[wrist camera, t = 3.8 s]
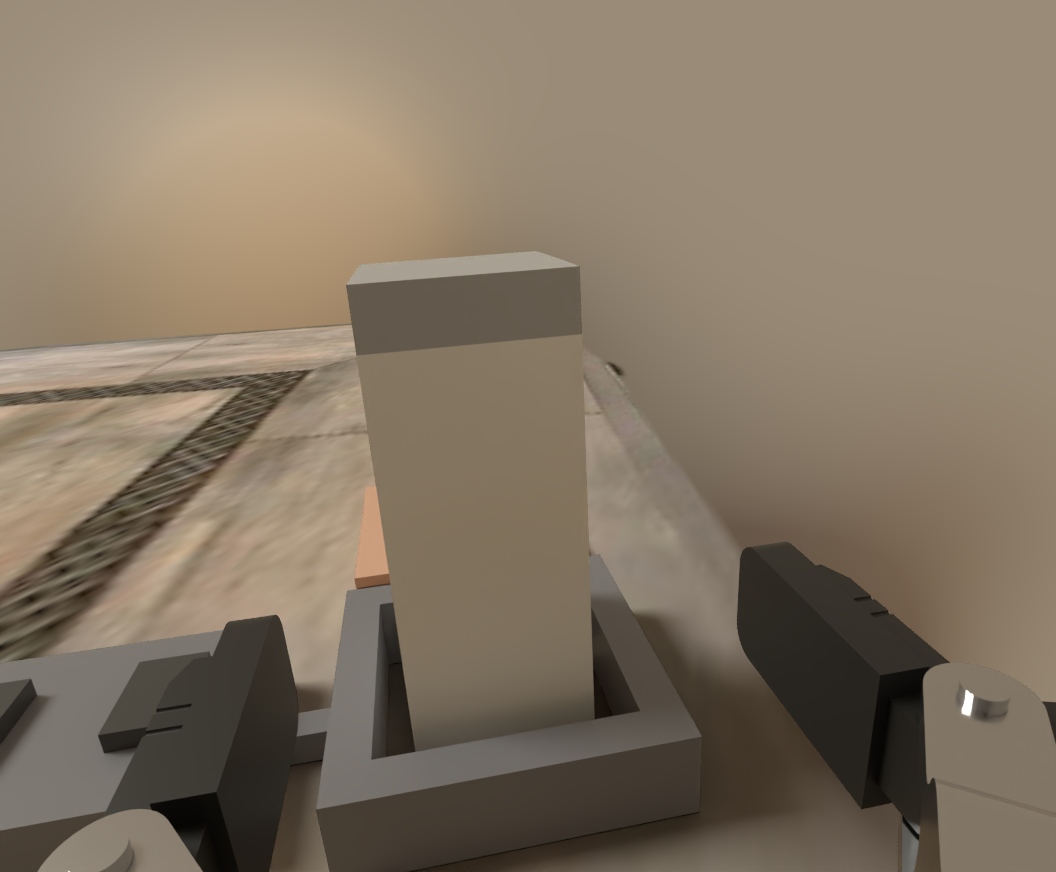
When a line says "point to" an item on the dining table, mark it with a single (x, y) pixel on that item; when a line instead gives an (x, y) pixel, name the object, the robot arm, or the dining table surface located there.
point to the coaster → (371, 545)
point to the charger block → (481, 487)
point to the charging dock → (363, 749)
